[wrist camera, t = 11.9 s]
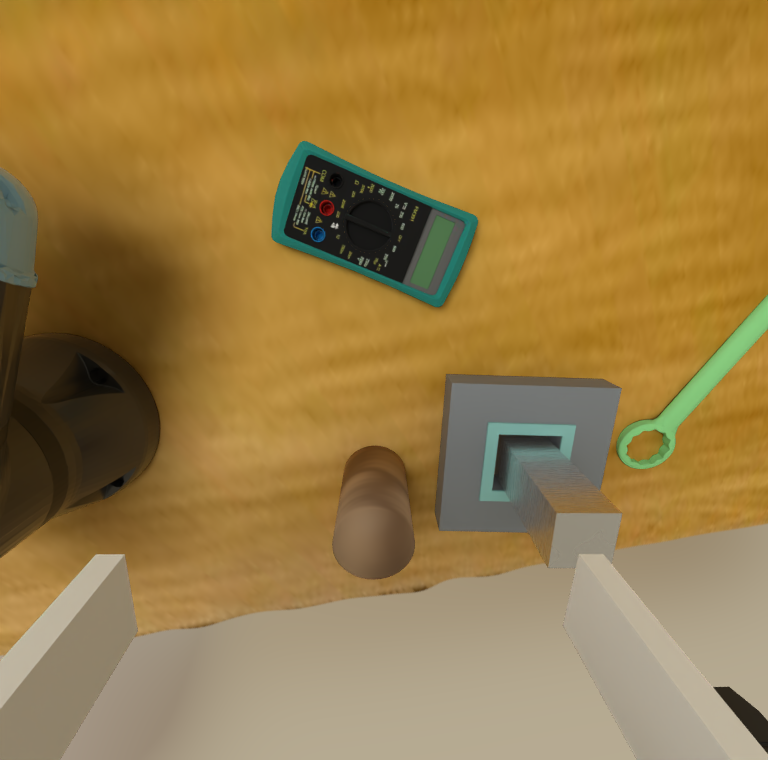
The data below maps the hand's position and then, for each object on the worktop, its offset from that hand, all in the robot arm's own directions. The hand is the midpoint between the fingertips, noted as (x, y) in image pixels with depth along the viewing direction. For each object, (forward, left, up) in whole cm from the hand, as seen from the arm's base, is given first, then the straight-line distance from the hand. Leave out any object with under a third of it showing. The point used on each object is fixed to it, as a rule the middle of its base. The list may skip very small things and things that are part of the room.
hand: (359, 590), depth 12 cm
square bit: (+14, -7, -24) cm, 28 cm away
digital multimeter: (0, +12, -25) cm, 27 cm away
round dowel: (+1, -10, -24) cm, 26 cm away
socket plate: (+14, -7, -24) cm, 28 cm away
